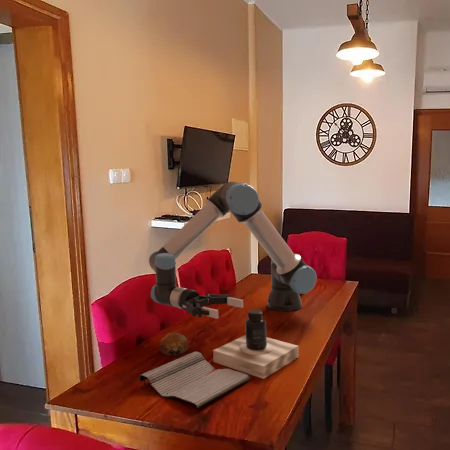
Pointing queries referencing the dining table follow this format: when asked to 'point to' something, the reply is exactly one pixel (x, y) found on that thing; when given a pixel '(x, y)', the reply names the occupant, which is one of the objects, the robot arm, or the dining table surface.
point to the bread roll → (173, 344)
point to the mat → (193, 379)
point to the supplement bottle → (256, 330)
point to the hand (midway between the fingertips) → (230, 309)
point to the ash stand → (256, 356)
